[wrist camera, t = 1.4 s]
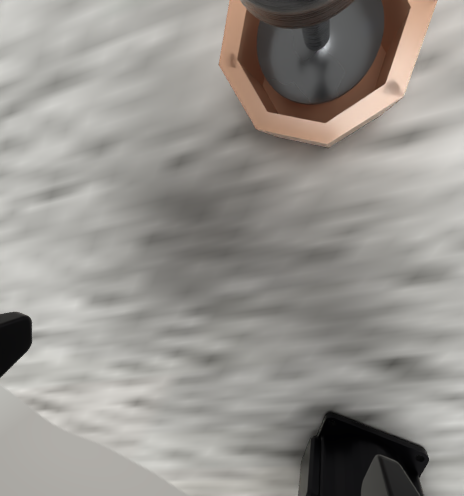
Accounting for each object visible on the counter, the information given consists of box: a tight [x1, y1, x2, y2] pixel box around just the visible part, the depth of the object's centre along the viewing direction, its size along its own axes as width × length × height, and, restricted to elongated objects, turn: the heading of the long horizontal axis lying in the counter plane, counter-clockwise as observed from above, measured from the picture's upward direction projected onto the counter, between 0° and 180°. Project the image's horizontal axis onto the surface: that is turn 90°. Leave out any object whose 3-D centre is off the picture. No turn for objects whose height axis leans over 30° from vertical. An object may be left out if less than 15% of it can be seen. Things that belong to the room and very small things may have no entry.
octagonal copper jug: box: [219, 0, 437, 148], centre depth 13 cm, size 7×9×6 cm
